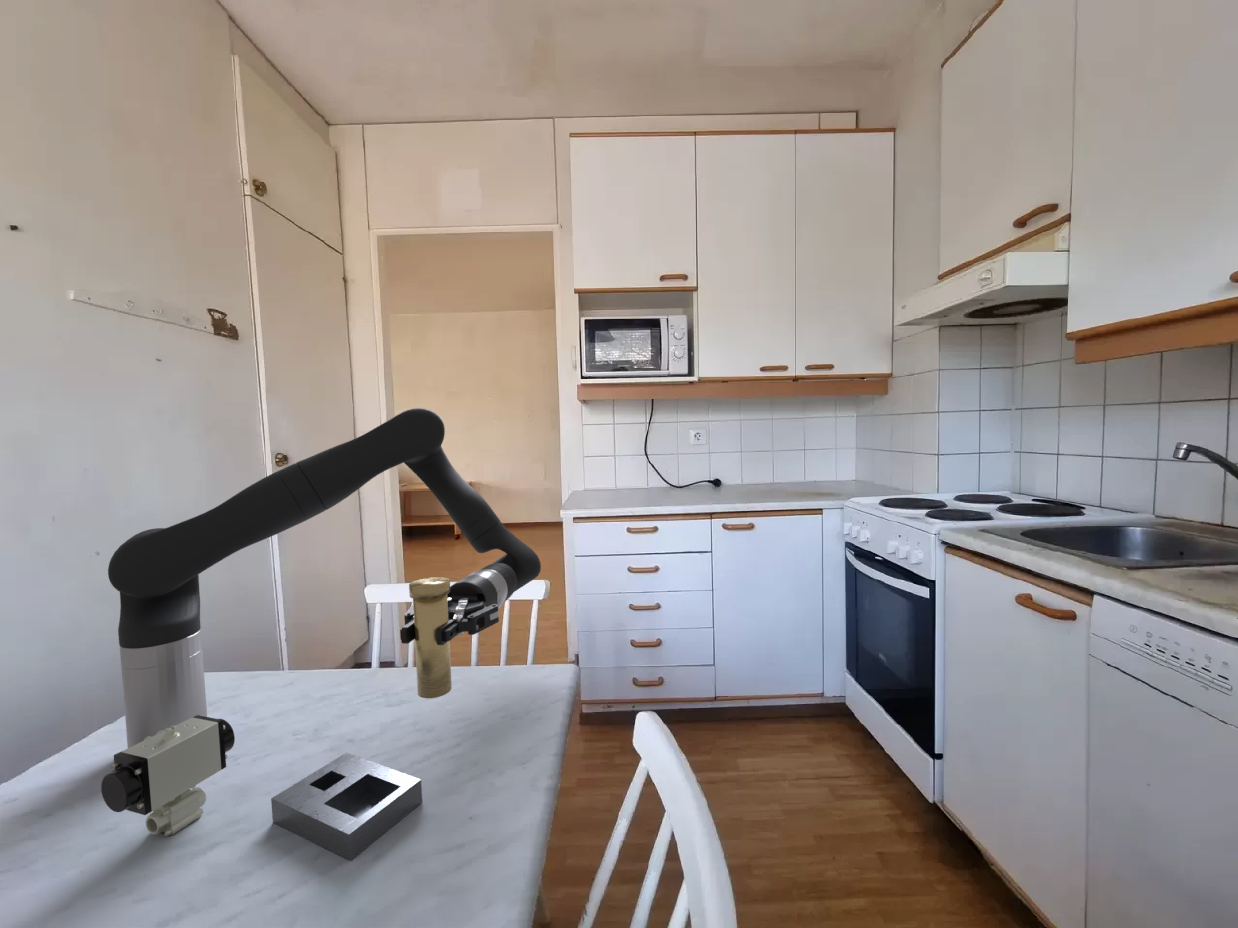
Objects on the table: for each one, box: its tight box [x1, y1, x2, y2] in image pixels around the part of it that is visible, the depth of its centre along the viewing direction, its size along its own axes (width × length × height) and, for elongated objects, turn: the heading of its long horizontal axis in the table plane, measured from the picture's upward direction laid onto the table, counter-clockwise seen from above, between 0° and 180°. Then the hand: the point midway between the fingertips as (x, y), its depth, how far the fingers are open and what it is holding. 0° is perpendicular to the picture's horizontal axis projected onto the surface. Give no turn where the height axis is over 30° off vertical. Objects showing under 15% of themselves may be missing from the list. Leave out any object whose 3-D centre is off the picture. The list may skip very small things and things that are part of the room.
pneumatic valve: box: [100, 715, 236, 837], centre depth 63 cm, size 6×12×12 cm, turn 162°
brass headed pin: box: [408, 576, 453, 699], centre depth 72 cm, size 5×5×15 cm
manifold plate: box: [270, 752, 423, 862], centre depth 65 cm, size 14×10×3 cm
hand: (421, 636), depth 69 cm, fingers closed on brass headed pin, 4 cm apart
